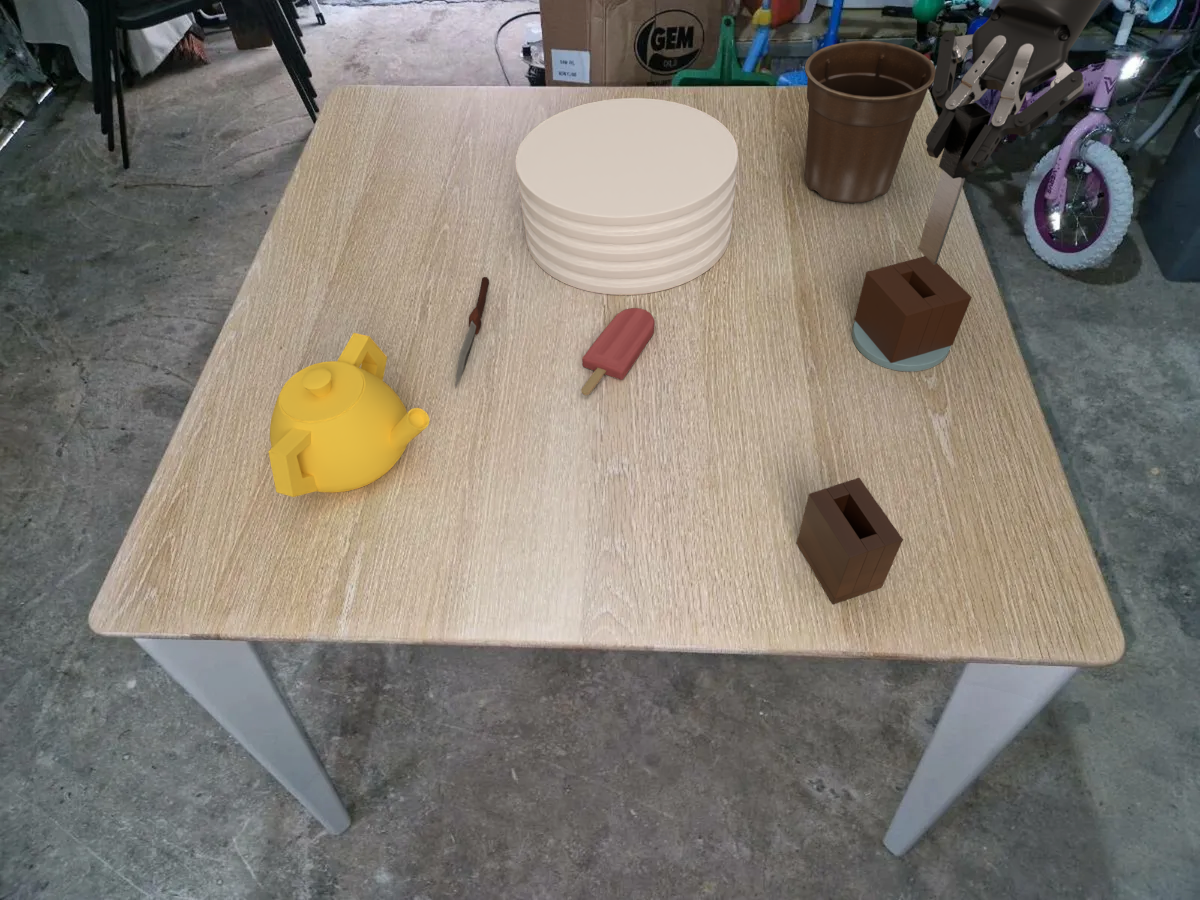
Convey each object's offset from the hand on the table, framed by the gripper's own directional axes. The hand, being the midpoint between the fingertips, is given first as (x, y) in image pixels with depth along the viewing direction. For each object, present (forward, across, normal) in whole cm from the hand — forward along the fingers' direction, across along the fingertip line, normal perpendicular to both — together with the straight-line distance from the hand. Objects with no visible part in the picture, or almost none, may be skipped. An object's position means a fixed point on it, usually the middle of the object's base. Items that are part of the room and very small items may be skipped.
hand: (949, 160), depth 74 cm
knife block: (+37, +13, -3) cm, 39 cm away
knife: (+40, -37, -6) cm, 55 cm away
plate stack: (+20, -39, +14) cm, 46 cm away
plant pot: (-1, -24, +35) cm, 42 cm away
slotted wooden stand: (+15, 0, +18) cm, 24 cm away
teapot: (+53, -31, -20) cm, 65 cm away
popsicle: (+33, -22, +1) cm, 40 cm away
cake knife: (+7, 0, +10) cm, 12 cm away
